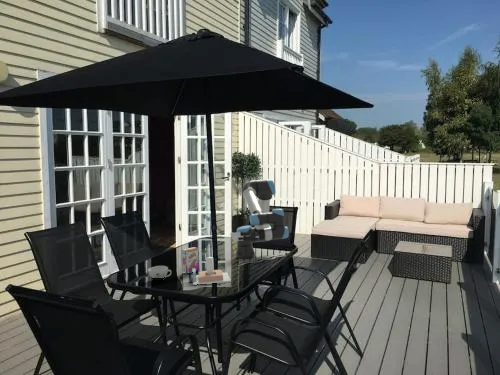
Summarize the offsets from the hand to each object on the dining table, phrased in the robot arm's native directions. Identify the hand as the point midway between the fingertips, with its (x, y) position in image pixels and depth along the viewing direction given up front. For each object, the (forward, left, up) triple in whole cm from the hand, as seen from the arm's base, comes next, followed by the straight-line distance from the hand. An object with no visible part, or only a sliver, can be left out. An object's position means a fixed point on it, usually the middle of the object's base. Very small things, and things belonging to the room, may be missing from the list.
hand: (231, 237), depth 270 cm
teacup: (-10, -47, -26) cm, 54 cm away
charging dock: (0, -15, -26) cm, 30 cm away
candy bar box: (-23, -27, -26) cm, 44 cm away
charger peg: (0, -15, -25) cm, 29 cm away
